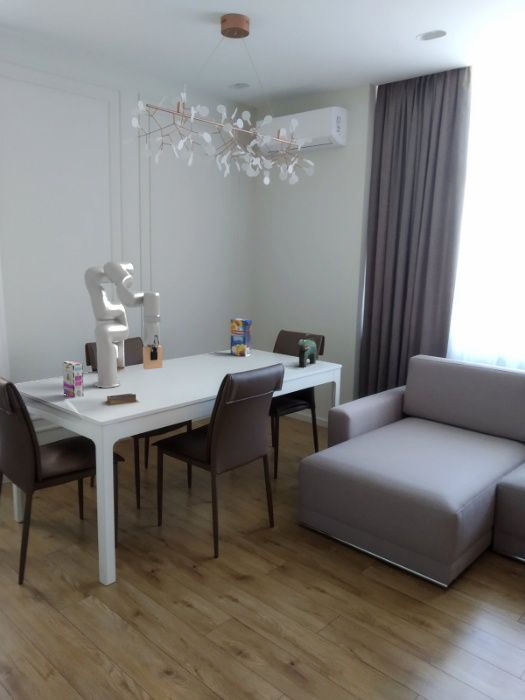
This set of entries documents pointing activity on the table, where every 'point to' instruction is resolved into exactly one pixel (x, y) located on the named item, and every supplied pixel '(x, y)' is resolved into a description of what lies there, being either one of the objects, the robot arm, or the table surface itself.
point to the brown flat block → (121, 399)
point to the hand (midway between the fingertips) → (152, 358)
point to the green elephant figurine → (307, 351)
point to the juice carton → (241, 337)
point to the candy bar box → (73, 378)
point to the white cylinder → (119, 348)
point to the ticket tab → (151, 363)
